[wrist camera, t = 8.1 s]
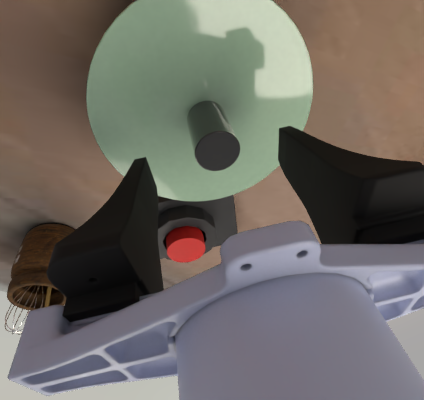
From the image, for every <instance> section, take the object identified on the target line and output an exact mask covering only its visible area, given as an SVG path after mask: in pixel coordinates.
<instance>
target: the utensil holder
mask: <svg viewBox="0 0 424 400" xmlns="http://www.w3.org/2000/svg"><path fill="white" fill-rule="evenodd" d="M74 231H75V230H74V229H72V228H70V227H68V226H64V225H60V224H44V225H40V226H37V227H35V228H33V229H32V230H30V231H29V232H28V234H27V235H26V237H25V238H24V240H23V242H22V244H21V247H20V249H19V251H18V254H17V256H16V259H15V261H14V264H13V267H12V271H11V278H12V281H11V282H10V284H9V286H8V292H7V298H8V300H9V301H10V302H11V303H12V304H13V305H14V306H17V307H19V308H22V310H23V309H26V310H35V309H39V308H44V307H48V306H52V305H64V304H65V302H66V297H65V296H64V295H63V294H62V293H61V292H60V291H59V290H58V289H57V288H56V287H55V286H54V285H53V284H52V283H51V282H50V281H49V279H48V278H47V274H46V272H47V269H48V265H49V262H50V258H51V255H52V252H53V249H54V246H55V244H56V243H57V242H59V241H60V240H62V239H63V238H65V237H66V236H68V235H70V234H71V233H72V232H74ZM14 306H13V307H14ZM16 309H17V308H16ZM8 311H9V310H8ZM15 312H16V311H15ZM10 313H11V312H10ZM27 313H28V312H27ZM6 315H7V314H6ZM9 315H10V314H9ZM14 316H15V314H14ZM26 316H27V315H26ZM5 318H6V317H5ZM18 318H19V317H18ZM7 319H8V318H7ZM24 319H25V318H24ZM6 321H7V320H6V319H5V324H6V325H7V323H6ZM13 321H14V319H13ZM17 321H18V320H17ZM17 321H16V322H17ZM23 321H24V320H23ZM13 323H14V322H13ZM21 324H22V323H21ZM21 324H20V325H21ZM15 325H16V324H15ZM7 327H8V326H7ZM13 327H14V324H13ZM18 328H19V327H18ZM5 329H6V328H5ZM9 329H10V328H9ZM13 329H14V330H15V328H13ZM6 330H7V329H6ZM10 330H11V329H10ZM14 330H12V332H14V333H15V332H16V333H17V330H16V331H14ZM22 330H23V329H22ZM7 331H8V330H7ZM20 331H21V330H20ZM9 332H10V331H9ZM14 333H12V334H14ZM17 334H18V333H17ZM21 334H22V332H21Z"/></svg>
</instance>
